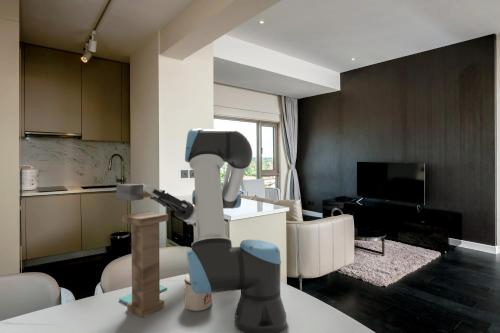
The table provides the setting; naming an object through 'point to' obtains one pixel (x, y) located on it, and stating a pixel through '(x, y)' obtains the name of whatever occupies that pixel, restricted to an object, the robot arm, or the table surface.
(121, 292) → the table surface
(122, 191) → the mallet
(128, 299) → the mat
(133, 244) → the stand
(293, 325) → the table surface
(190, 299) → the teacup with lid
